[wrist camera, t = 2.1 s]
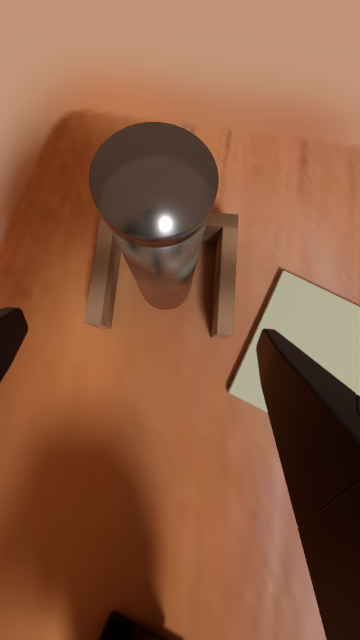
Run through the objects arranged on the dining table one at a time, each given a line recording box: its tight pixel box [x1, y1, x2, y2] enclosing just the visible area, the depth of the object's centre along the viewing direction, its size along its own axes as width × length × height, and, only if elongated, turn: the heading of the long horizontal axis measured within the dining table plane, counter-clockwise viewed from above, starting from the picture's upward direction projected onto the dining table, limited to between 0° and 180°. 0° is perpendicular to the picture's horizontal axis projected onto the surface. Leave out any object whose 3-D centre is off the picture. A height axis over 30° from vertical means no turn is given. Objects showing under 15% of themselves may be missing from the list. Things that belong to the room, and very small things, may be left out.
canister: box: [89, 122, 219, 309], centre depth 15 cm, size 5×5×13 cm
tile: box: [228, 271, 360, 413], centre depth 20 cm, size 12×12×1 cm
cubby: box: [85, 212, 238, 338], centre depth 20 cm, size 10×11×3 cm
